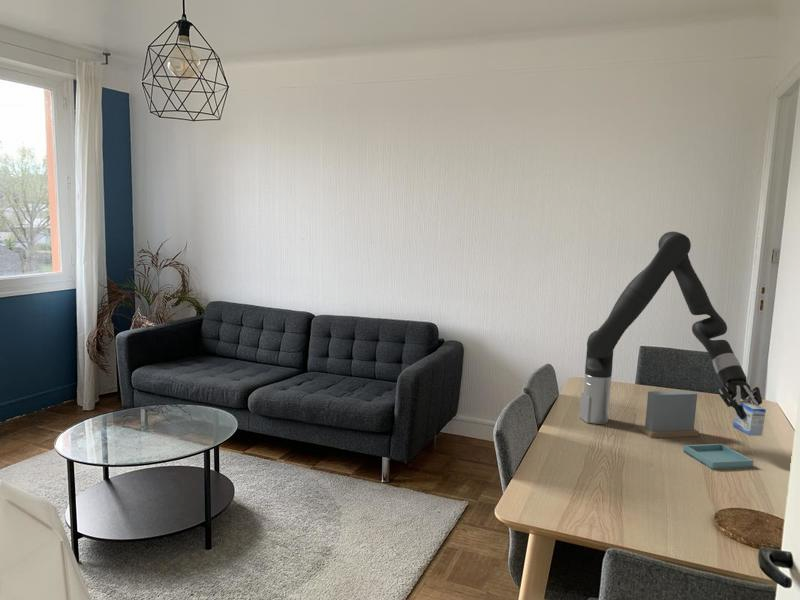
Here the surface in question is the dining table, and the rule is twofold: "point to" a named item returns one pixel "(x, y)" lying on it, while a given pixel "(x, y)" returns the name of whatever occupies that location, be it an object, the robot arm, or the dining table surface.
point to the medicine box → (750, 419)
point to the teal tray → (718, 456)
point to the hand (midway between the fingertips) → (751, 417)
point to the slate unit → (670, 414)
